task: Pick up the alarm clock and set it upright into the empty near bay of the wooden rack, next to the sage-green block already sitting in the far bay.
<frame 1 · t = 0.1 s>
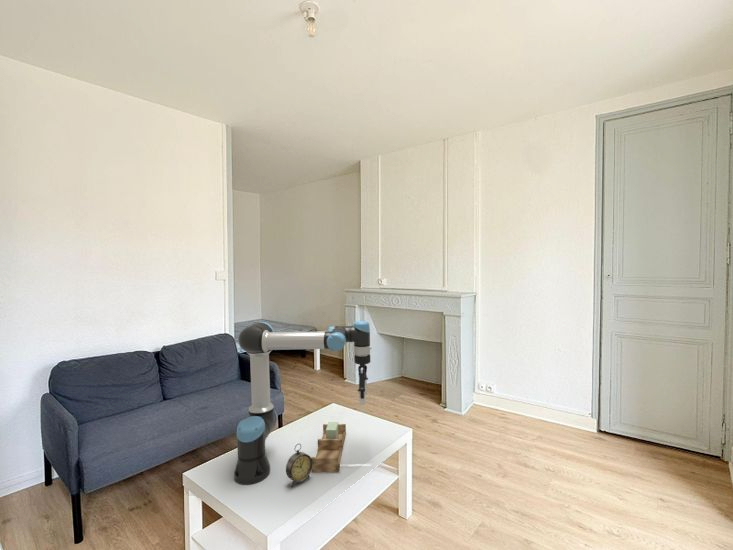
hand: (363, 399, 165), 28 cm above the table, fingers open, 13 cm apart
alarm clock: (299, 481, 149), on the table
wooden rack: (330, 452, 171), on the table
sage block: (332, 441, 179), point 1 cm above the table, touching wooden rack
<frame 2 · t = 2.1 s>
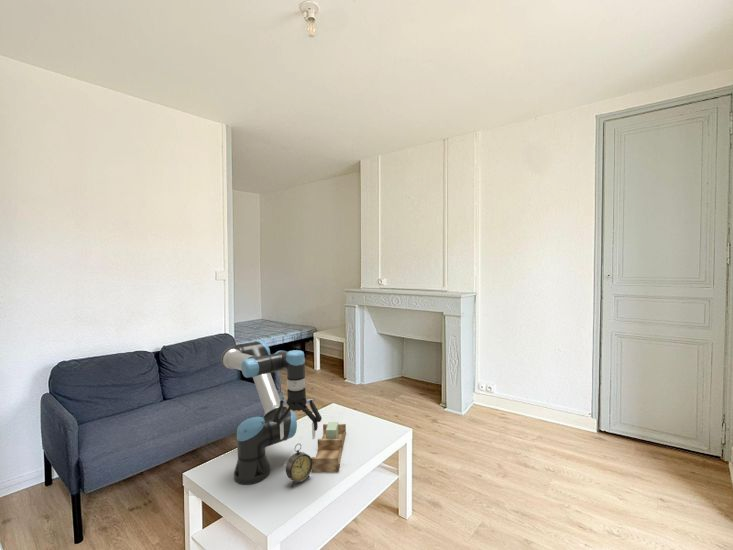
hand: (298, 437, 148), 19 cm above the table, fingers open, 13 cm apart
nothing on the table moved.
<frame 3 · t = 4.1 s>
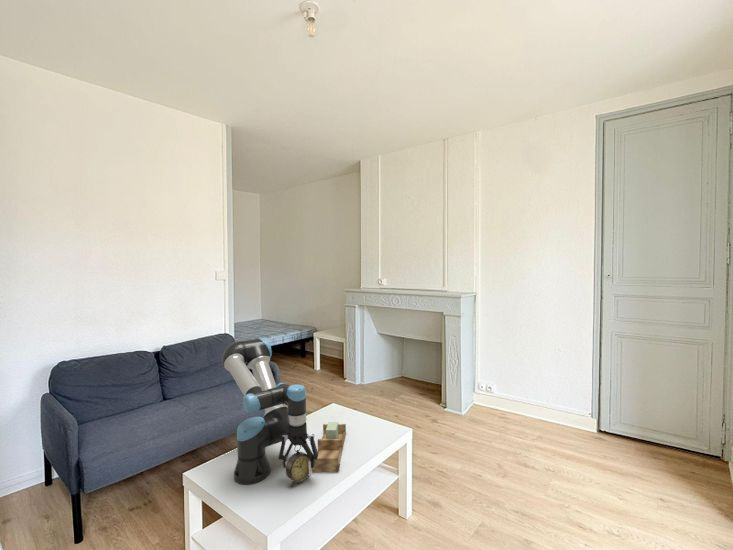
hand: (299, 474, 148), 3 cm above the table, fingers closed on alarm clock, 9 cm apart
alarm clock: (298, 481, 149), on the table, touching gripper
everything else where it was.
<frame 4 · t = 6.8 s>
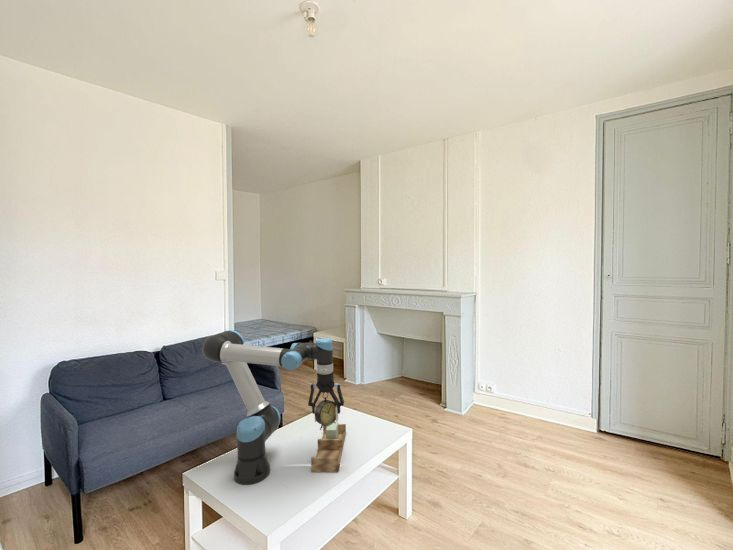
hand: (326, 420, 162), 20 cm above the table, fingers closed on alarm clock, 9 cm apart
alarm clock: (326, 426, 162), point 17 cm above the table, touching gripper
everything else where it was.
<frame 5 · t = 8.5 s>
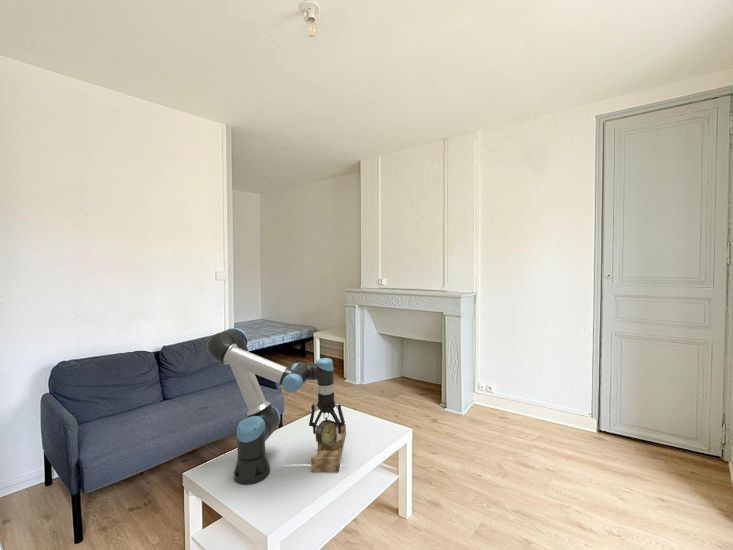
hand: (327, 440, 163), 10 cm above the table, fingers closed on alarm clock, 9 cm apart
alarm clock: (327, 446, 163), point 7 cm above the table, touching gripper
everything else where it was.
when the fingers open (5 cm above the table, at t = 9.9 s): alarm clock drops 1 cm, resting on wooden rack.
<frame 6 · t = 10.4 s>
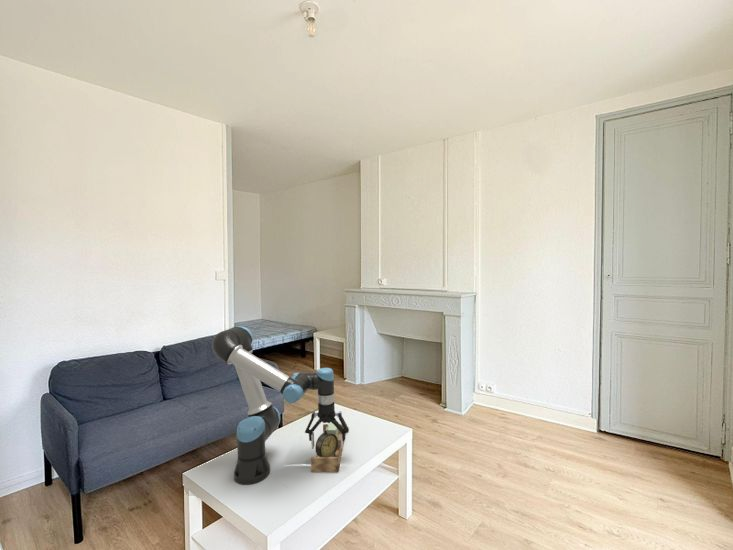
hand: (327, 447, 163), 7 cm above the table, fingers open, 13 cm apart
alarm clock: (326, 459, 163), point 1 cm above the table, touching wooden rack
everything else where it was.
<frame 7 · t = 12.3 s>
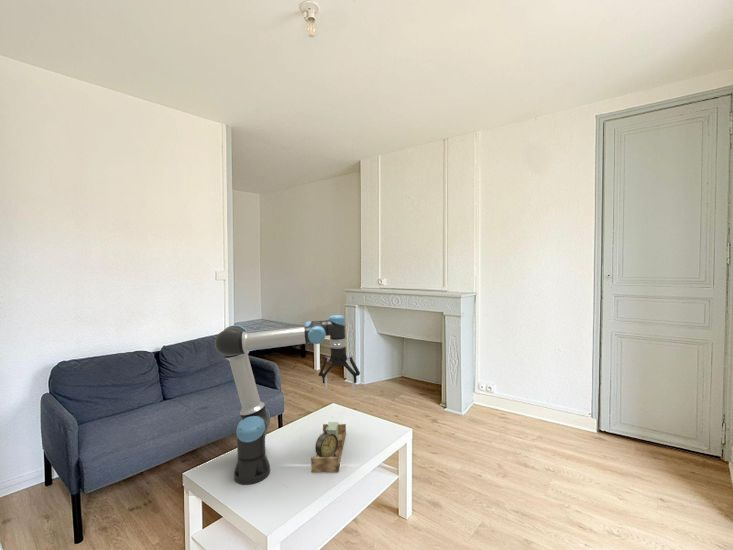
hand: (339, 389, 172), 30 cm above the table, fingers open, 13 cm apart
nothing on the table moved.
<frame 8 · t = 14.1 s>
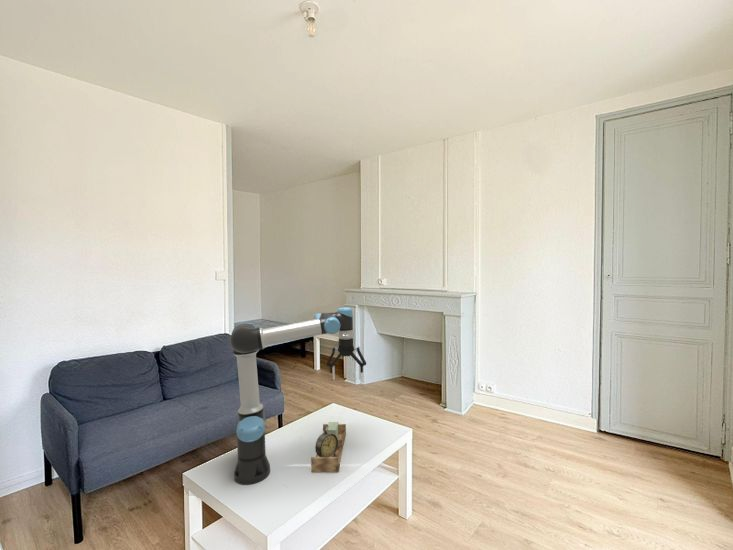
hand: (346, 379, 180), 33 cm above the table, fingers open, 13 cm apart
nothing on the table moved.
at the end: alarm clock inside the target area on the wooden rack (0.6 cm from its centre), point 1.0 cm above the wooden rack's base; alarm clock tilted 0°; sage block moved 0.0 cm from its start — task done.
